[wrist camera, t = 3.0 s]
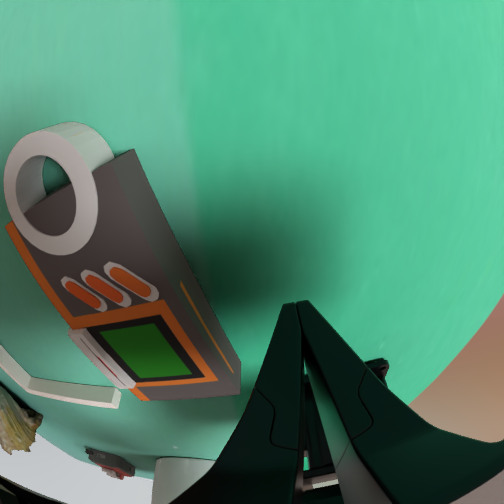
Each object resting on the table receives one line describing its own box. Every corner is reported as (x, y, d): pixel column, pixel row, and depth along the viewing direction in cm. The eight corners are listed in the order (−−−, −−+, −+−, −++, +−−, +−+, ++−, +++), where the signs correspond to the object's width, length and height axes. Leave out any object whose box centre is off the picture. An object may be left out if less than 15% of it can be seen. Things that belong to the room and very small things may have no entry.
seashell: (14, 371, 22) (-16, 432, 13) (62, 428, 29) (45, 478, 20) (-28, 351, 22) (-56, 398, 13) (17, 408, 28) (-1, 451, 20)
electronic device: (77, 91, 6) (242, 402, 13) (120, 89, 8) (243, 359, 16) (-27, 185, 7) (137, 408, 14) (14, 162, 9) (147, 371, 17)
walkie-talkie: (77, 441, 34) (111, 464, 46) (73, 460, 31) (109, 479, 42) (118, 453, 35) (145, 472, 46) (115, 473, 31) (143, 487, 43)
